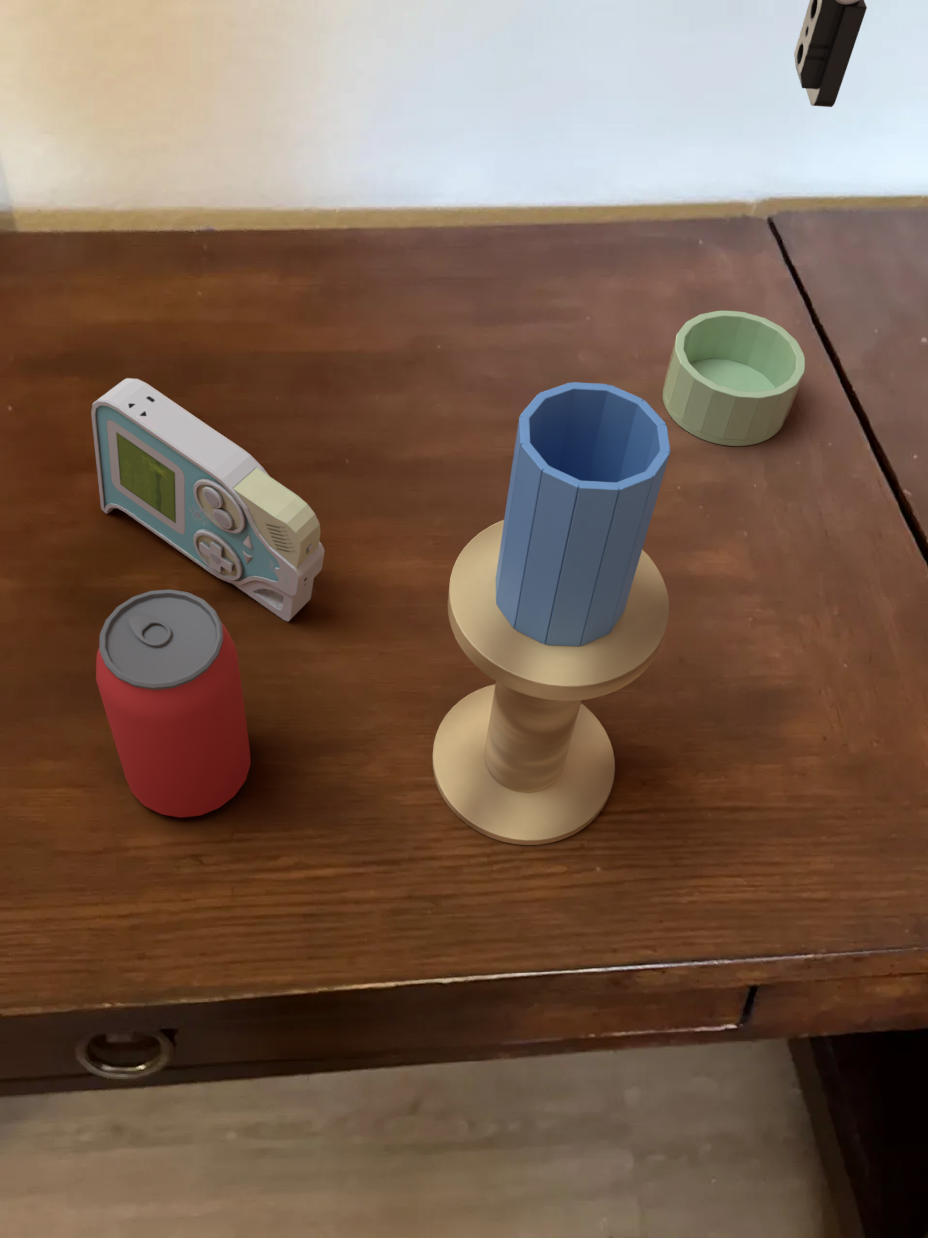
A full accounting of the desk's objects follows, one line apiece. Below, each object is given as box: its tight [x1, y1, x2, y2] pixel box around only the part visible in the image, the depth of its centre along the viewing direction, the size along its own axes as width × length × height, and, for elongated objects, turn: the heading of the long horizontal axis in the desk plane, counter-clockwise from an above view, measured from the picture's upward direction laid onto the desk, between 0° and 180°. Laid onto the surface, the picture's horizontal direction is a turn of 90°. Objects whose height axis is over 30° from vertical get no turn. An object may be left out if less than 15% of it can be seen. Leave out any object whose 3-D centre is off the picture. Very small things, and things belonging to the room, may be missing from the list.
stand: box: [431, 519, 670, 846], centre depth 61 cm, size 10×10×15 cm
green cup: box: [661, 310, 806, 447], centre depth 84 cm, size 9×9×4 cm
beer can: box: [95, 589, 252, 819], centre depth 60 cm, size 7×7×12 cm
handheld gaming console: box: [90, 377, 326, 622], centre depth 70 cm, size 11×3×15 cm
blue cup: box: [496, 381, 671, 646], centre depth 51 cm, size 6×6×10 cm
